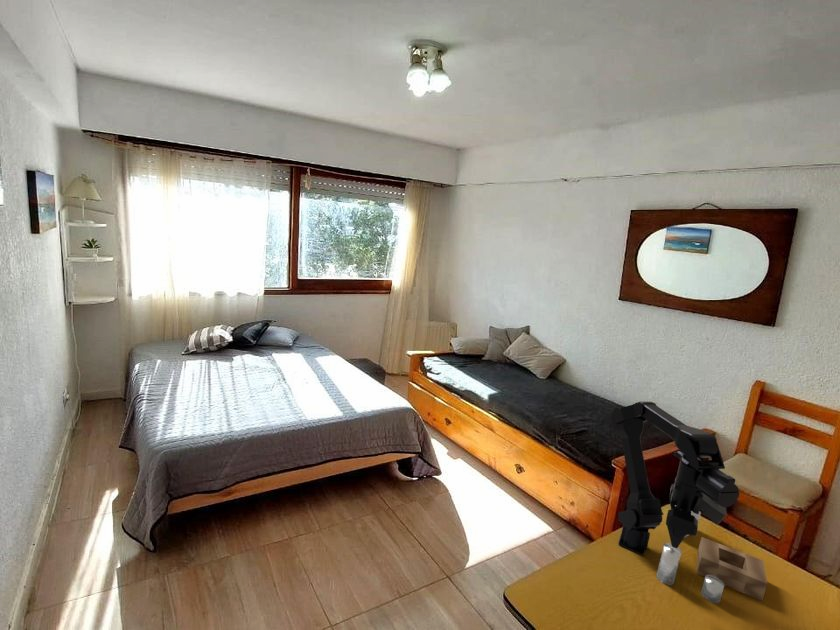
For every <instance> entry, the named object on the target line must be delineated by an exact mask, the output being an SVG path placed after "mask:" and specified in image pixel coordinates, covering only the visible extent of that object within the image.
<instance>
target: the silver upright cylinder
mask: <svg viewBox="0 0 840 630" xmlns="http://www.w3.org/2000/svg"><path fill="white" fill-rule="evenodd" d="M681 556H682V549H681V548H680V547H679V546H678V548H674V547H672V544H671V542H665V543H664V544H663V547H662V551H661V555H660V559H659V562H658V566H657V567H658V568H657V573H656V578H657V580H658V581H659V582H661V583H662V584H664V585H667V586H672V585H674V583H675V579H676V577H677V572H678V568H679V563H680V560H681Z"/></svg>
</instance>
